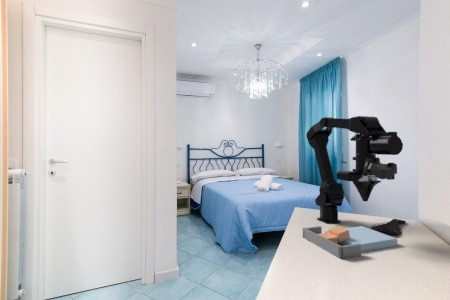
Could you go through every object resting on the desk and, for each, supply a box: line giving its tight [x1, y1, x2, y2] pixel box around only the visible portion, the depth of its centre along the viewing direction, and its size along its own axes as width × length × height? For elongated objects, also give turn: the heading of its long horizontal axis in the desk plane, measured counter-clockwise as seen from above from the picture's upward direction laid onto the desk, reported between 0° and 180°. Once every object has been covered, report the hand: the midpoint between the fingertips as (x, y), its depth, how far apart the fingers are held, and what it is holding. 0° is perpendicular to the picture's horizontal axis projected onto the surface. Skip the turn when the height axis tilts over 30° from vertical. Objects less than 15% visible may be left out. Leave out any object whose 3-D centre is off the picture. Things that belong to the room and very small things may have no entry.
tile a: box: [327, 225, 350, 242], centre depth 70 cm, size 4×4×2 cm
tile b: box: [318, 232, 338, 244], centre depth 69 cm, size 4×4×2 cm
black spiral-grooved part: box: [370, 218, 406, 236], centre depth 85 cm, size 8×4×25 cm
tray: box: [302, 225, 362, 260], centre depth 69 cm, size 16×7×3 cm, turn 17°
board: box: [324, 225, 398, 252], centre depth 72 cm, size 12×16×2 cm
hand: (365, 201), depth 76 cm, fingers closed
